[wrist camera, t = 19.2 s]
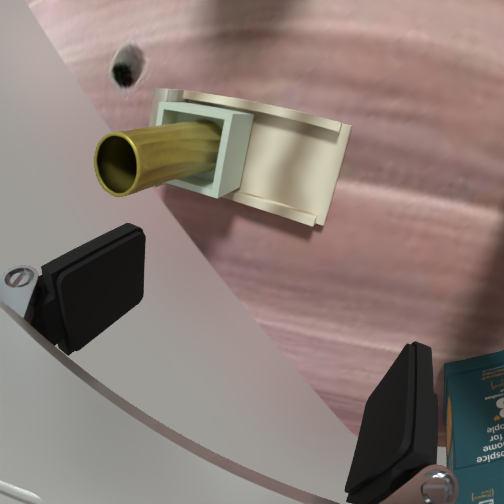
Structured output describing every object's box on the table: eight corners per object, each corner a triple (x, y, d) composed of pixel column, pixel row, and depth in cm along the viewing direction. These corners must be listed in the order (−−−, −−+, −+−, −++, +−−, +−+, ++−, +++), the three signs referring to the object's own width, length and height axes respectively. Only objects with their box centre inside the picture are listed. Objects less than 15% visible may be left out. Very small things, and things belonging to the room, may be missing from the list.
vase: (196, 180, 37) (111, 215, 25) (172, 137, 36) (80, 154, 24) (237, 155, 34) (157, 178, 22) (210, 108, 33) (121, 110, 21)
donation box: (537, 340, 32) (588, 497, 8) (521, 409, 36) (539, 544, 12) (444, 363, 39) (449, 544, 15) (441, 427, 43) (432, 571, 19)
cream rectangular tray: (351, 125, 33) (347, 125, 28) (324, 222, 38) (316, 239, 33) (182, 90, 38) (154, 87, 33) (169, 174, 43) (142, 183, 38)
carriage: (254, 114, 35) (232, 113, 29) (239, 187, 39) (217, 198, 34) (187, 102, 37) (159, 101, 32) (177, 169, 41) (149, 178, 36)
